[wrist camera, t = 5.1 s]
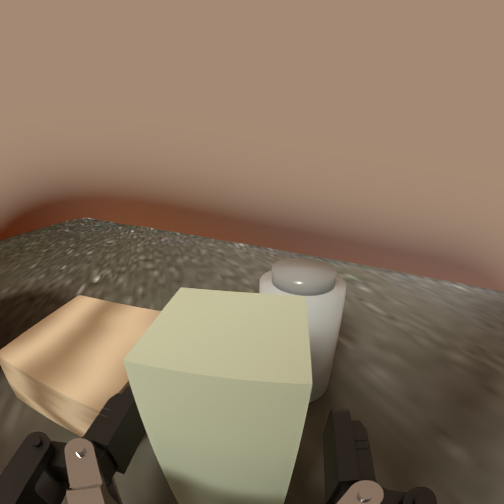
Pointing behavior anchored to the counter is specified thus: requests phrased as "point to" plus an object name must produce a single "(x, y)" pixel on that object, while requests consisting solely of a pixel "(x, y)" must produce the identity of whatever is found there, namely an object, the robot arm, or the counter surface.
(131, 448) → the robot arm
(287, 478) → the sage block
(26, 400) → the maple block
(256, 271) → the counter surface
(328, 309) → the ceramic jar
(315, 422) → the counter surface
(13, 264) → the counter surface
